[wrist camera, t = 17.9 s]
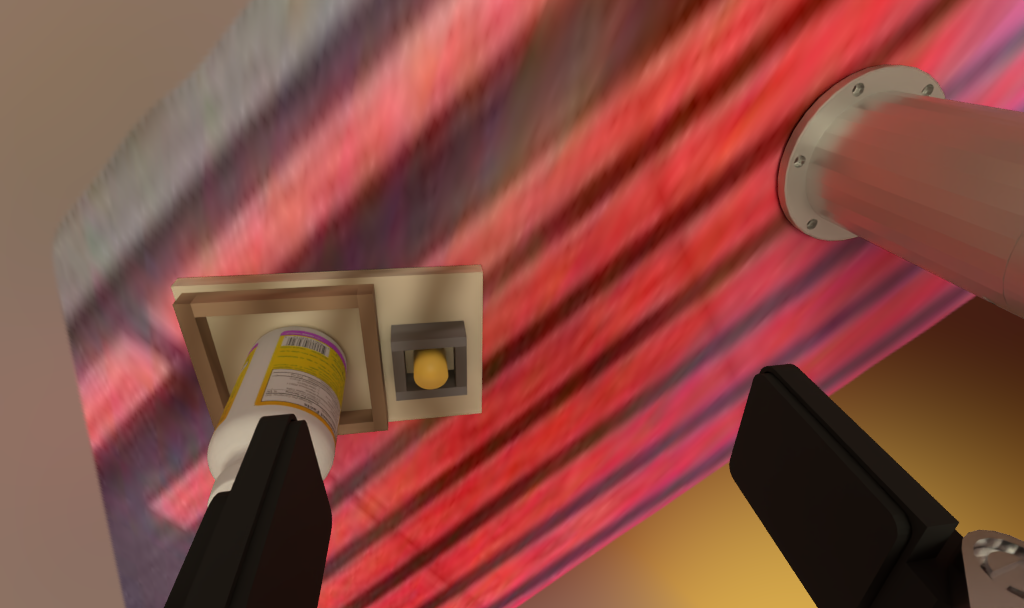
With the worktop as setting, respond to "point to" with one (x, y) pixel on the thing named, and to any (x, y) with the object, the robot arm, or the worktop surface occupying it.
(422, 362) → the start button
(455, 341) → the beige tray
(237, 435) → the supplement bottle
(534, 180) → the worktop surface
